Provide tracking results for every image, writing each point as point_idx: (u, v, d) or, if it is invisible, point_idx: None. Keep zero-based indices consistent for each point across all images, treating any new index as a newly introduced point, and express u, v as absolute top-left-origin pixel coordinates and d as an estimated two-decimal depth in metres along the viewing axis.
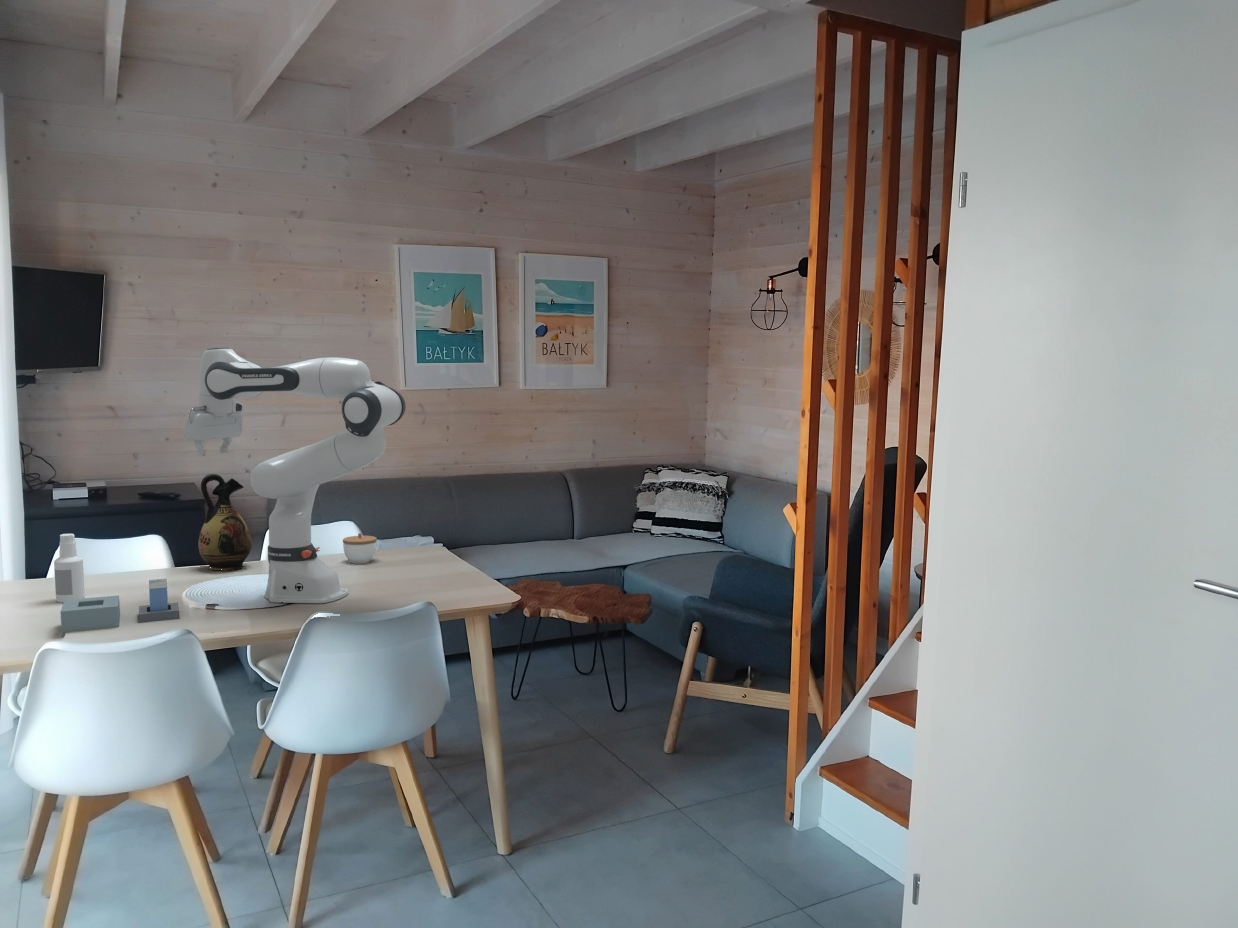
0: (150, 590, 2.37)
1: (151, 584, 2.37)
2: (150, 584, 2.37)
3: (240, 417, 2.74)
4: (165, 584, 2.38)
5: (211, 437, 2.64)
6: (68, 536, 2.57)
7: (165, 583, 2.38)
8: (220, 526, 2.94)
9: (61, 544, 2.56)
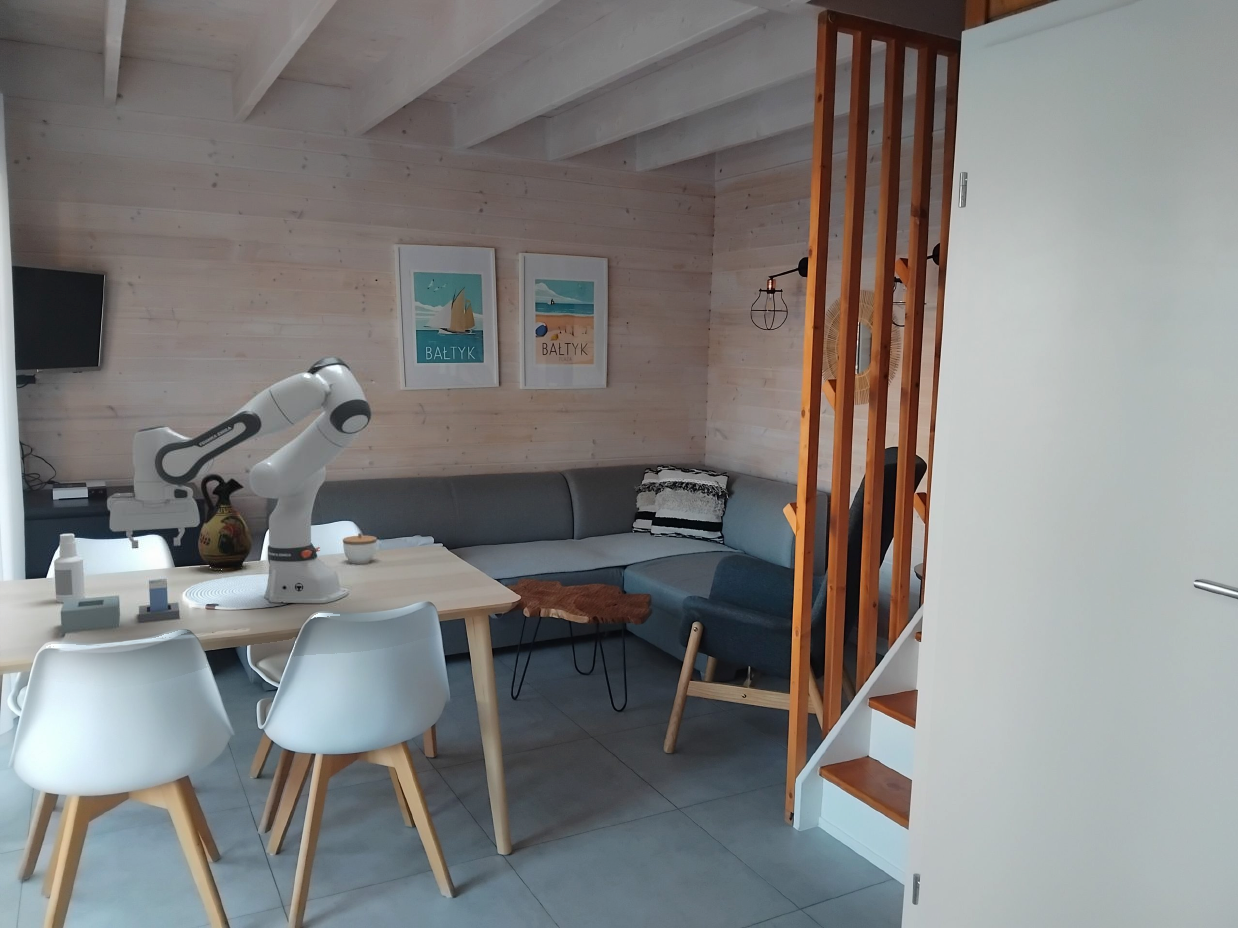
0: (150, 590, 2.37)
1: (151, 584, 2.37)
2: (150, 584, 2.37)
3: (191, 505, 2.39)
4: (165, 584, 2.38)
5: (140, 527, 2.35)
6: (68, 536, 2.57)
7: (165, 583, 2.38)
8: (220, 526, 2.94)
9: (61, 544, 2.56)
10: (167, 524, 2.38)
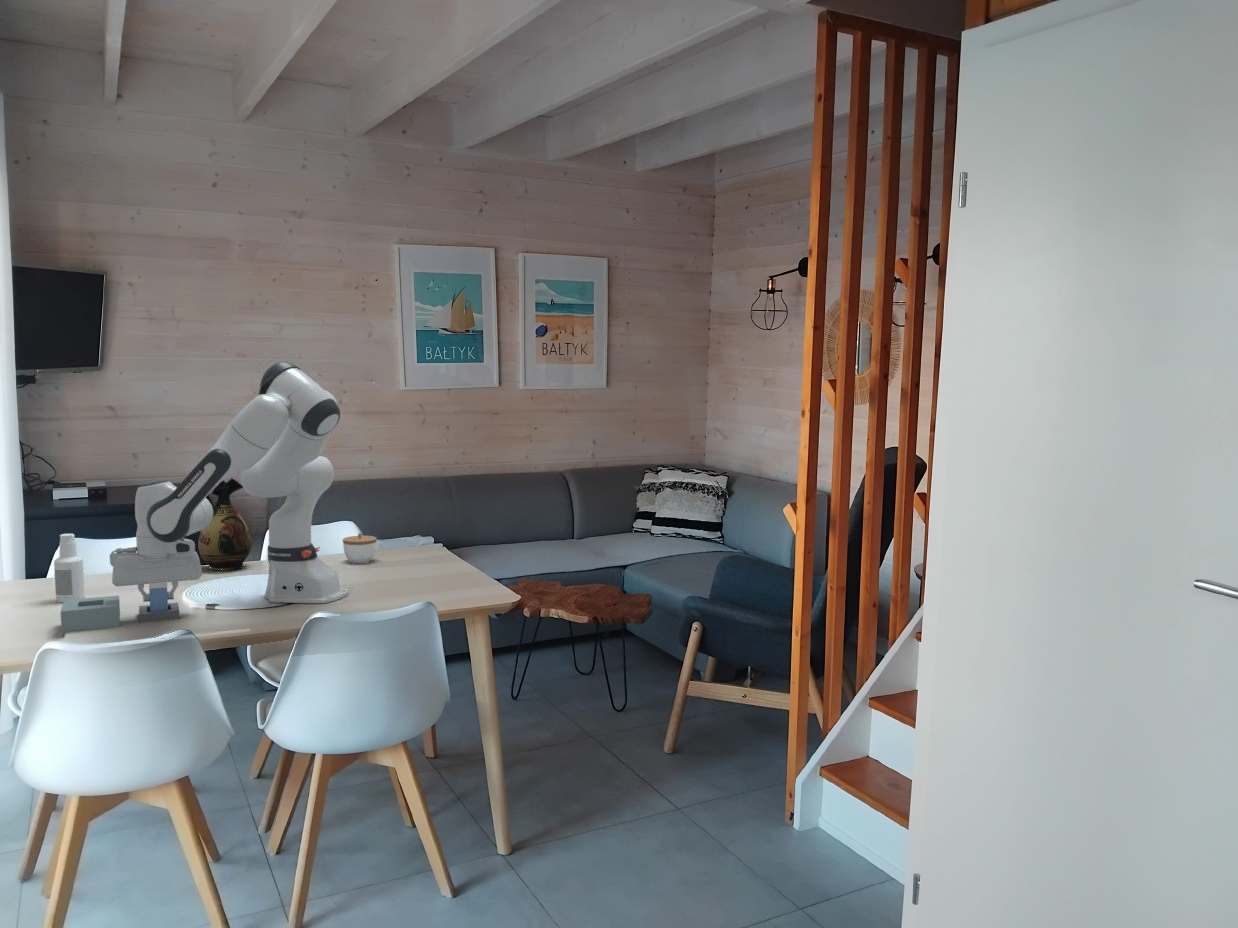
0: (150, 590, 2.37)
1: (151, 584, 2.37)
2: (150, 584, 2.37)
3: (193, 558, 2.40)
4: (165, 584, 2.38)
5: (143, 582, 2.36)
6: (68, 536, 2.57)
7: (165, 583, 2.38)
8: (220, 526, 2.94)
9: (61, 544, 2.56)
10: (169, 578, 2.39)
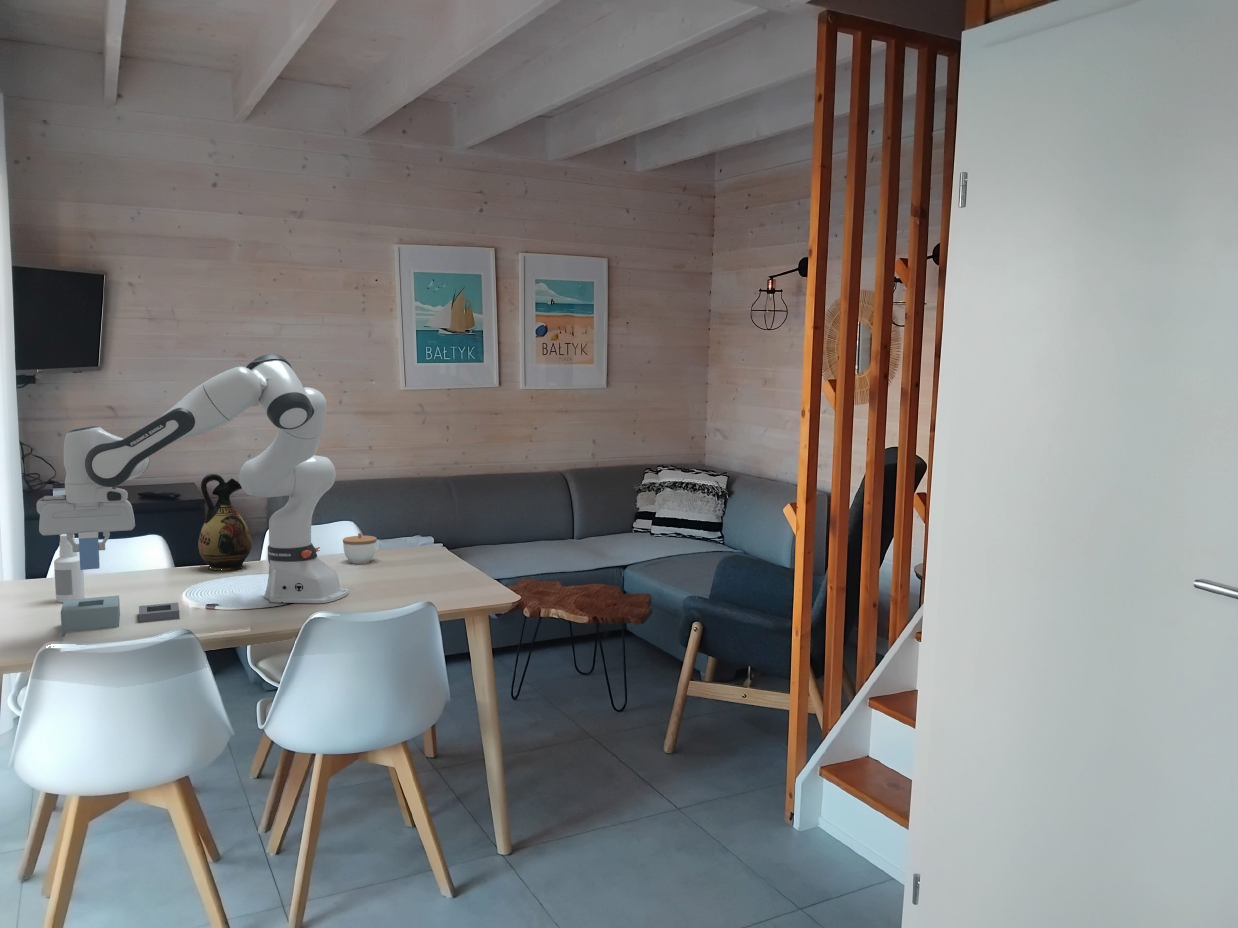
0: (80, 540, 2.28)
1: (81, 534, 2.28)
2: (80, 534, 2.28)
3: (125, 507, 2.31)
4: (96, 534, 2.29)
5: (72, 531, 2.27)
6: None
7: (96, 533, 2.29)
8: (220, 526, 2.94)
9: (61, 544, 2.56)
10: (100, 527, 2.30)
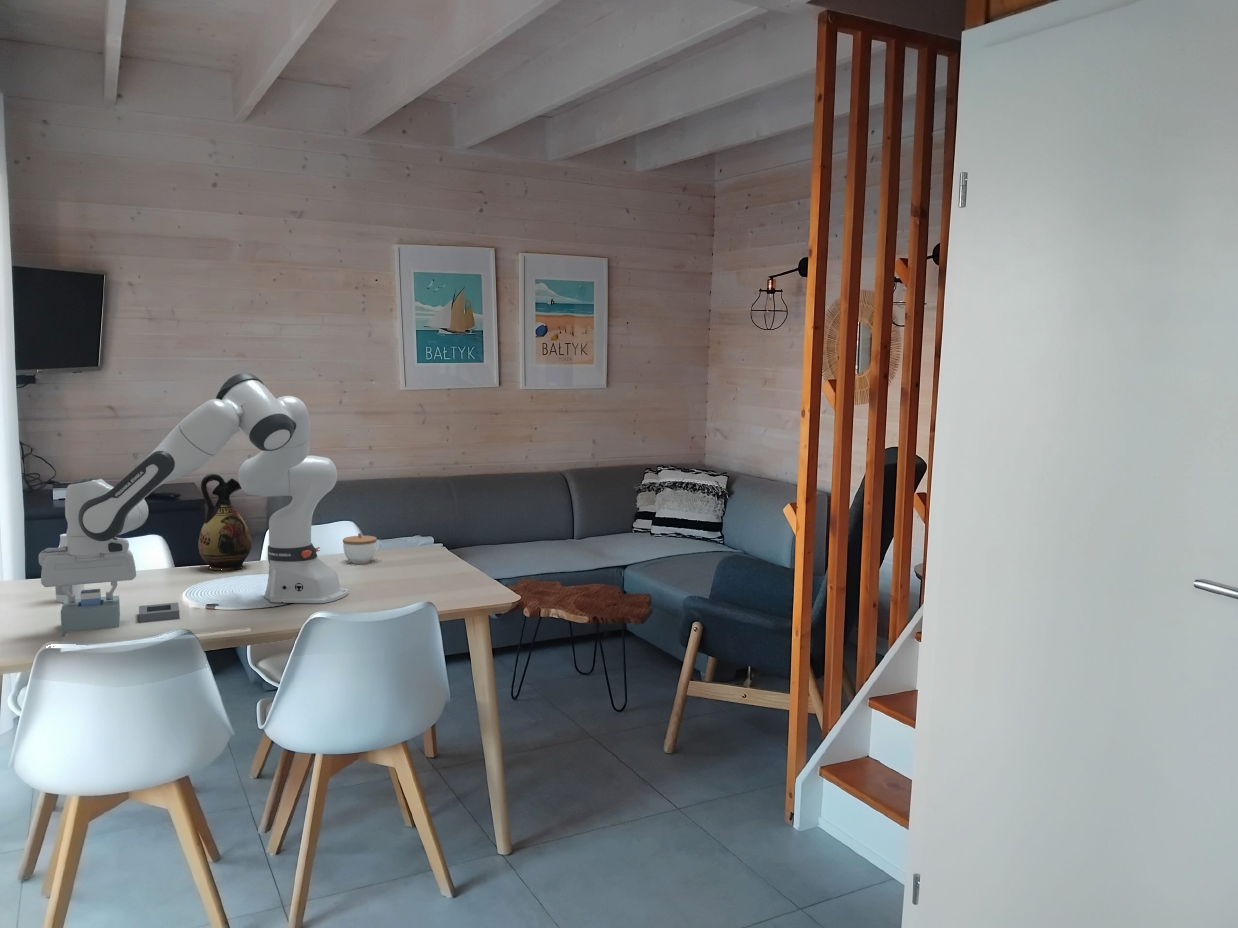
0: (82, 601, 2.30)
1: (83, 595, 2.30)
2: (82, 595, 2.30)
3: (126, 558, 2.33)
4: (98, 595, 2.31)
5: (74, 582, 2.29)
6: None
7: (98, 594, 2.31)
8: (220, 526, 2.94)
9: (61, 544, 2.56)
10: (101, 578, 2.32)
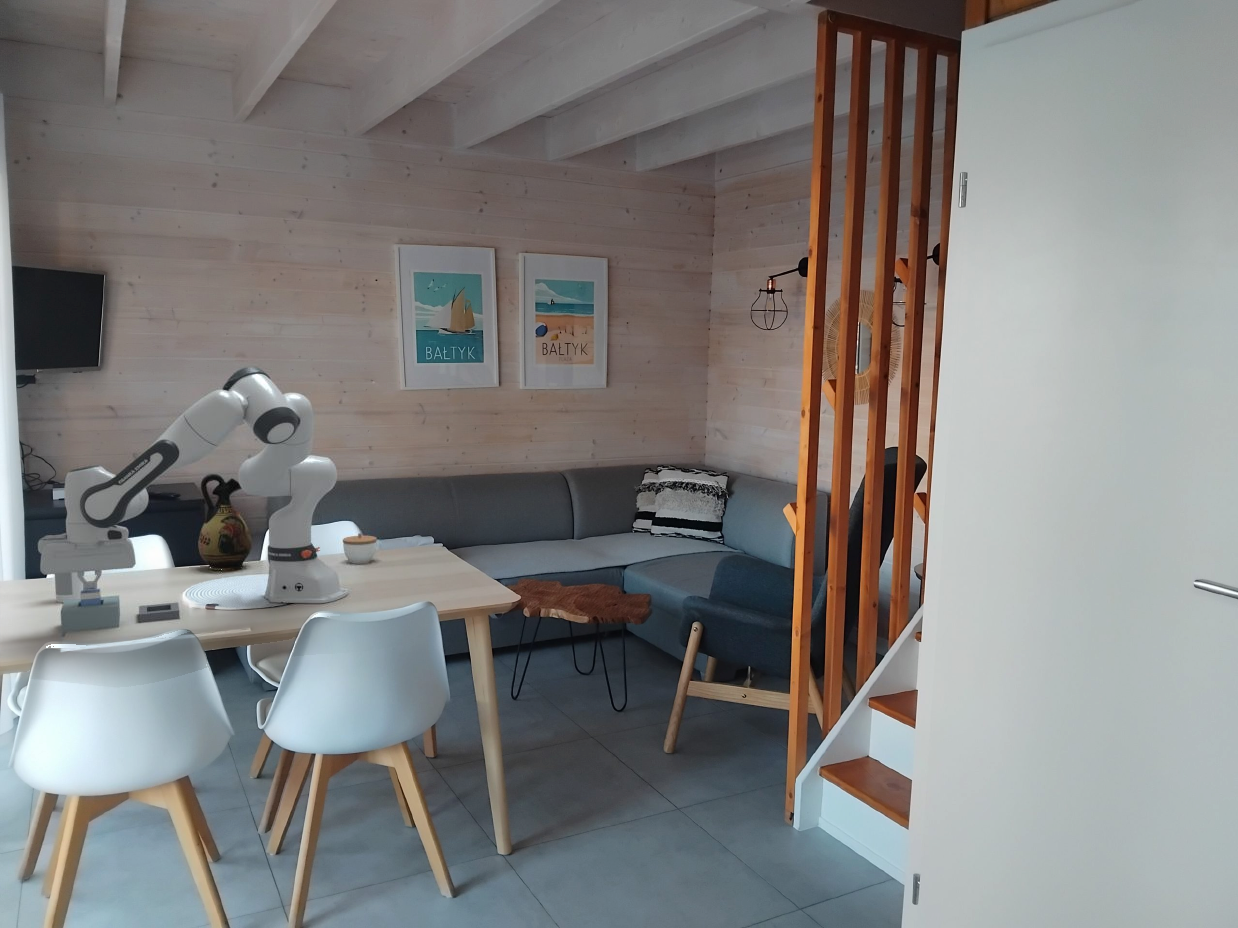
0: (82, 601, 2.30)
1: (83, 595, 2.30)
2: (82, 595, 2.30)
3: (126, 546, 2.33)
4: (97, 595, 2.31)
5: (73, 570, 2.29)
6: None
7: (97, 594, 2.31)
8: (220, 526, 2.94)
9: None
10: (101, 566, 2.31)
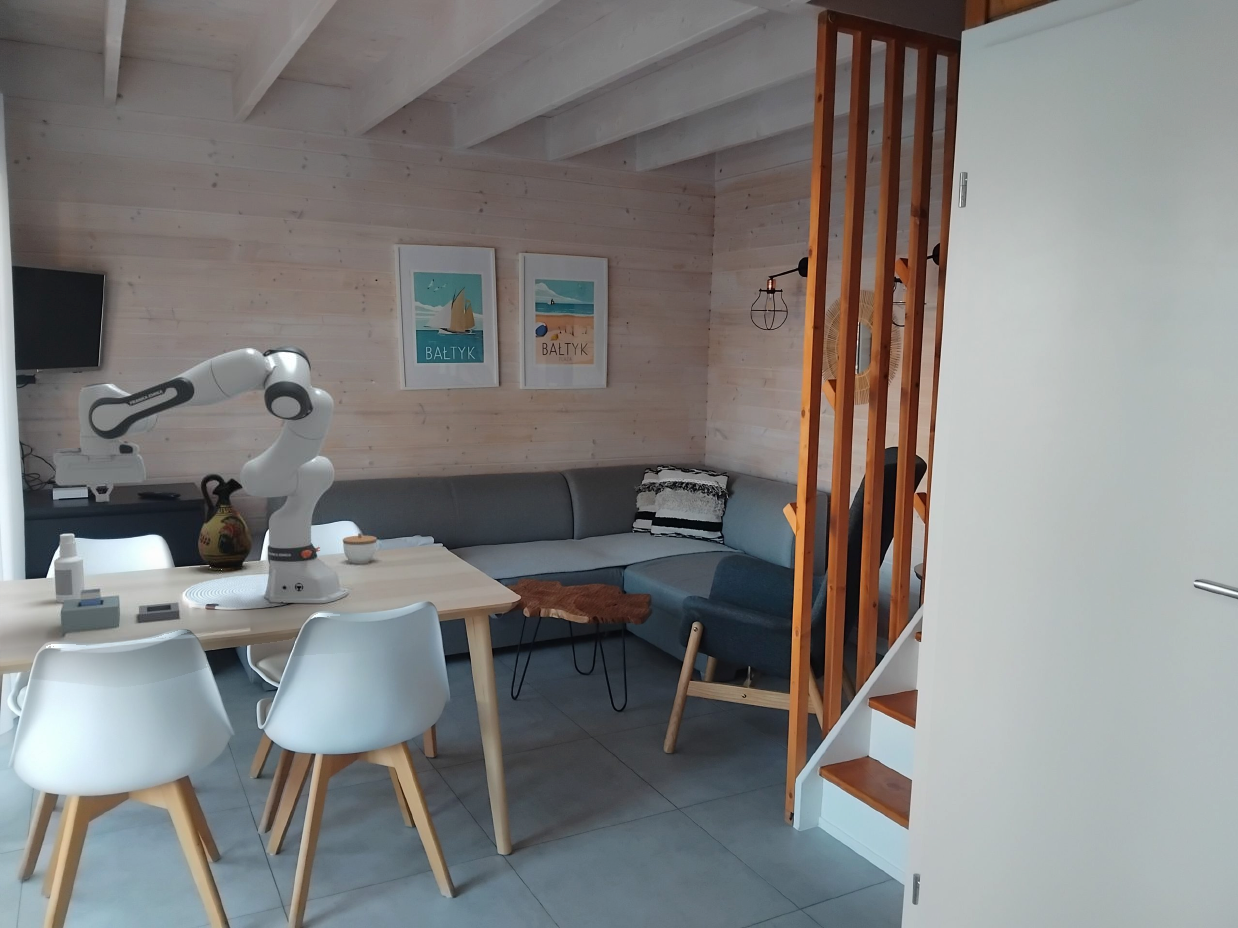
0: (82, 601, 2.30)
1: (83, 595, 2.30)
2: (82, 595, 2.30)
3: (136, 460, 2.44)
4: (97, 595, 2.31)
5: (86, 482, 2.40)
6: (68, 536, 2.57)
7: (97, 594, 2.31)
8: (220, 526, 2.94)
9: (61, 544, 2.56)
10: (113, 479, 2.42)
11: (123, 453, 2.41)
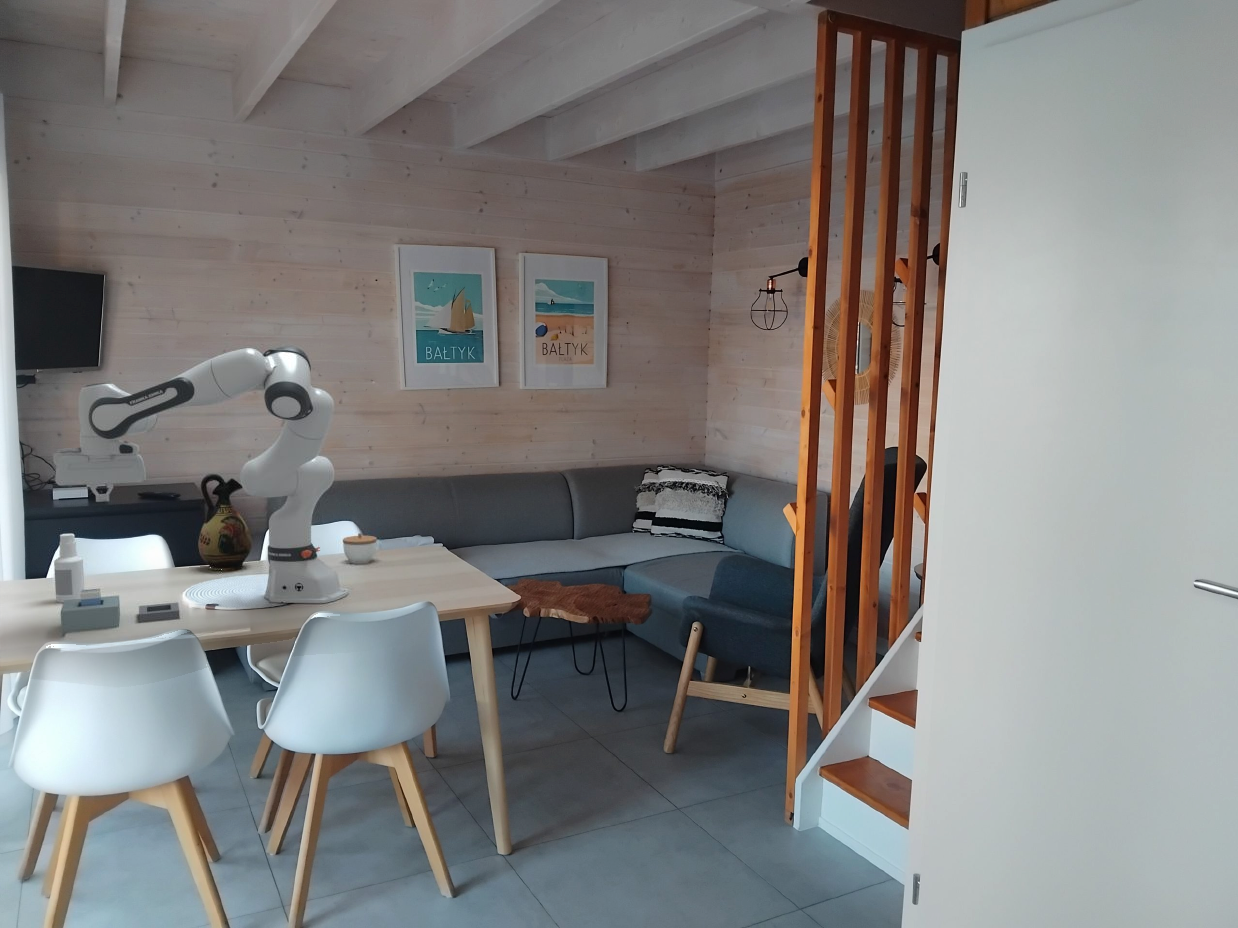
0: (82, 601, 2.30)
1: (83, 595, 2.30)
2: (82, 595, 2.30)
3: (136, 460, 2.44)
4: (97, 595, 2.31)
5: (86, 482, 2.40)
6: (68, 536, 2.57)
7: (97, 594, 2.31)
8: (220, 526, 2.94)
9: (61, 544, 2.56)
10: (113, 479, 2.42)
11: (123, 453, 2.41)
